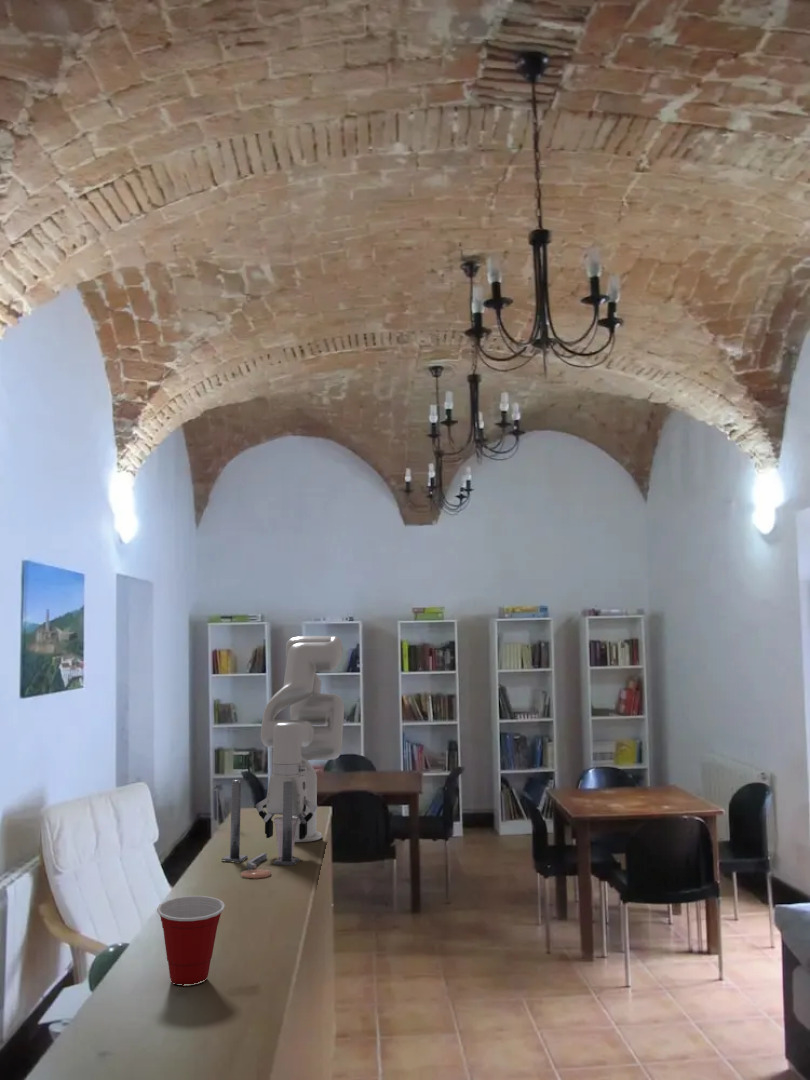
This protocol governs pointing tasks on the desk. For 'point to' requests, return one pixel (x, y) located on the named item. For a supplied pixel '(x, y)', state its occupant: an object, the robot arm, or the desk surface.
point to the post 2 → (287, 827)
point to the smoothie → (279, 832)
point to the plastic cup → (190, 936)
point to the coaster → (256, 873)
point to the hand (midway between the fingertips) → (285, 837)
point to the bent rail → (256, 861)
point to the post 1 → (235, 824)
